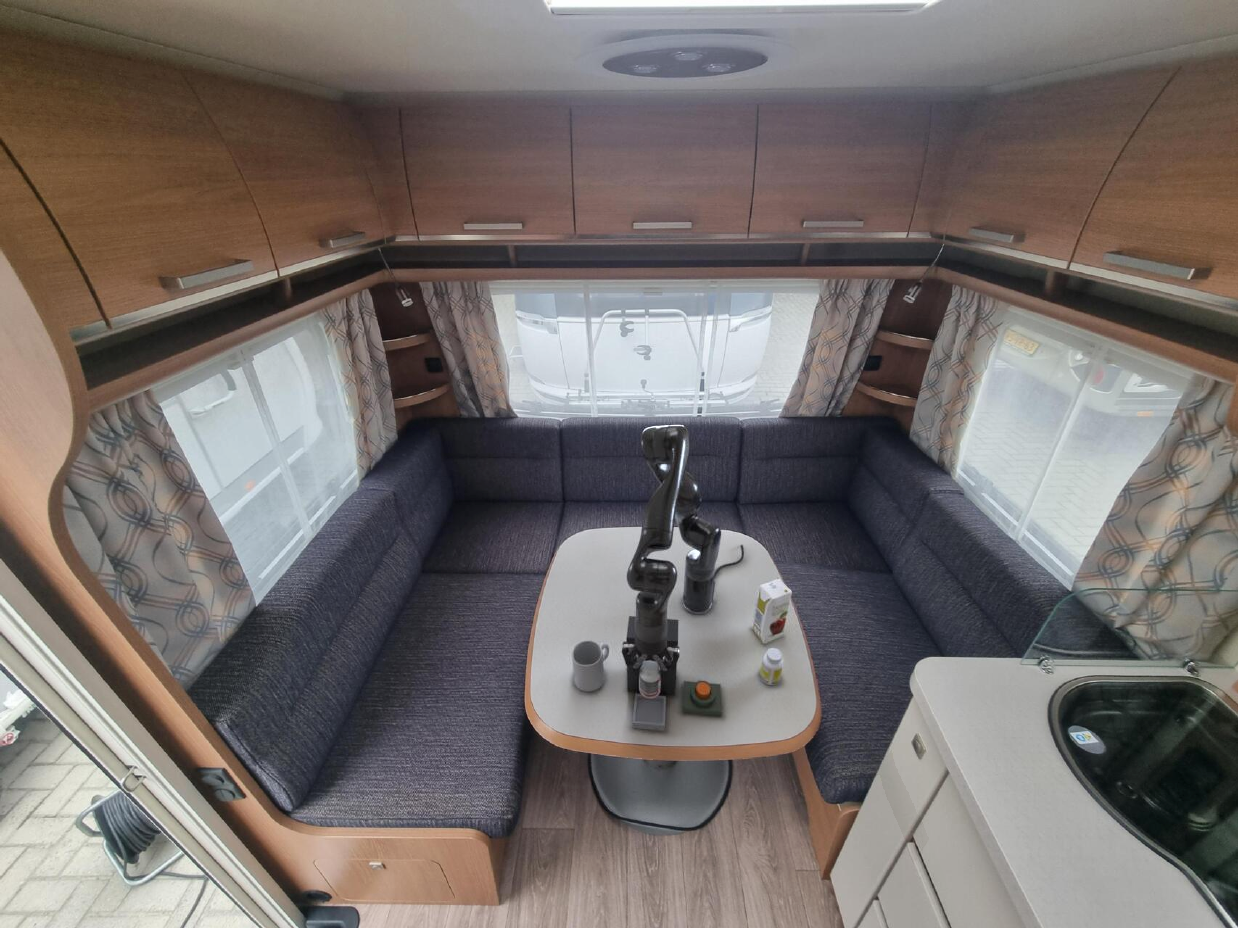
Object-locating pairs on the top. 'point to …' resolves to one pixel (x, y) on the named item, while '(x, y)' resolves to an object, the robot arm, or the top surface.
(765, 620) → the juice carton
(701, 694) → the button
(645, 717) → the coffee maker
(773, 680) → the supplement bottle
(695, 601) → the robot arm
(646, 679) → the pill bottle
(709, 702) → the button block
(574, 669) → the mug
